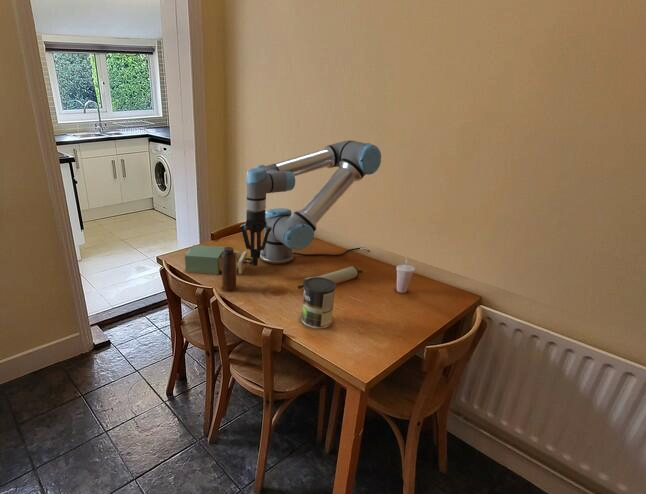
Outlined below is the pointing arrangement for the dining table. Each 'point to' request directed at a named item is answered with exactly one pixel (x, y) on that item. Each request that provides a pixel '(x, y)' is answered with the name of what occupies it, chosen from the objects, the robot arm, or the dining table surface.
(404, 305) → the dining table surface
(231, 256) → the pepper mill
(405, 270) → the smoothie
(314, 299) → the coffee can
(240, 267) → the drawer
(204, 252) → the cabinet
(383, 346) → the dining table surface
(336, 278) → the rolling pin
